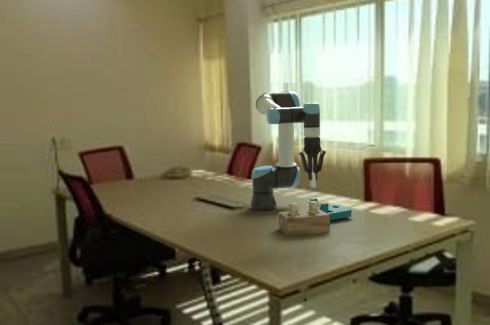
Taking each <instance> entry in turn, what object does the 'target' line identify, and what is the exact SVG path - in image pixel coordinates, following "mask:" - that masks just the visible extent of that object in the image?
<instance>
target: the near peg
mask: <svg viewBox="0 0 490 325" xmlns="http://www.w3.org/2000/svg"><path fill="white" fill-rule="evenodd" d="M298 208H299V205H298V203H297V202H291V203H288V211H289V216H297V215H298Z"/></svg>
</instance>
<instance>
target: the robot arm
mask: <svg viewBox="0 0 490 325" xmlns="http://www.w3.org/2000/svg"><path fill="white" fill-rule="evenodd" d="M255 108H256V110H257V111H258V113H260V114H261V115H265V116H266V121H267V123H268V124H269V125H277V126H278V127H277V128H278V129H277V131H278V132H277V133H278V136H277V137H278V140H277V141H278V162H276V163H275V167H273V166H272V165H262V166H257V167H254V168H253V169H252V171H251V174H252V175H251V182H252V196H251V199H250V203H249V209H250V210H254V211H272V210H275V209H278V208H277V207H278V206H277V205H278V203H277V199H276V198H275V195H274V190H275V189H287V188H288V189H291V188H295V187H298V185H299V184H300V179H301V169H300V167H299V166H298V165H297V163H296V162H295V126H294V124H301V123H302V124H303V136H304V137H303V149H302V151H299V152H298V155H299V156H300V160H301V163H302V168H303V171H304V172H305V173H307V174H308V175H307V176H308V180H309V183H310V184H309V186H310V187H311V188H317V187H316V186H317V185H316V184H317V182H316V181H317V180H318V173H319V172H322V168H323V163H324V158H325V155H326V153H327V151H326V150H324V149H322V147H321V137H320V136H321V108H320V103H319V102H307V103H306V102H305V103H303V105H302V106H301V103H300V98H299V95H298V93H297V92H295V91H291V90H290V91H289V90H287V91H269V92H264V93H263V94H261V95H259V96H258V97H257V99H256V101H255ZM305 155H306V156H305ZM306 158H307V160H306Z"/></svg>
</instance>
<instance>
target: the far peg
mask: <svg viewBox="0 0 490 325" xmlns="http://www.w3.org/2000/svg"><path fill="white" fill-rule="evenodd" d="M318 204H319V201H318V202H317V201H310V200H309V201H308V209H309V214H317V213H318Z"/></svg>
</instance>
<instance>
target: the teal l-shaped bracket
mask: <svg viewBox="0 0 490 325" xmlns="http://www.w3.org/2000/svg"><path fill="white" fill-rule="evenodd" d="M310 201H317V202H318V209H320V210H322V211H323V212H325V213H327V214H329V219H330V221H335V220H340V219H346V218H351V217H352V214H353V212H352V211H353V210H352V209H351V208H348V207H346V206H343V205H340V204H334V205H330V204H329V202H322V203H320V205H319V201H318V198H316V197H314V198H310V199H309V202H310Z"/></svg>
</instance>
